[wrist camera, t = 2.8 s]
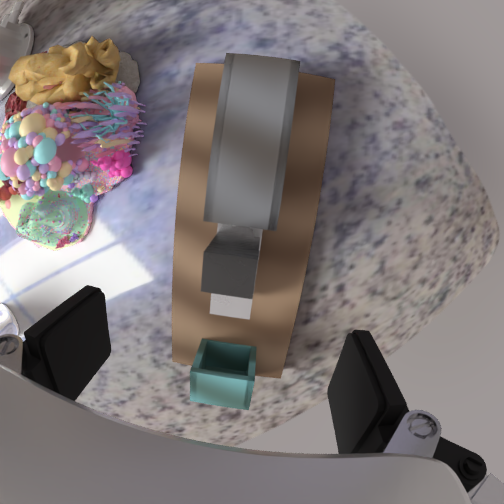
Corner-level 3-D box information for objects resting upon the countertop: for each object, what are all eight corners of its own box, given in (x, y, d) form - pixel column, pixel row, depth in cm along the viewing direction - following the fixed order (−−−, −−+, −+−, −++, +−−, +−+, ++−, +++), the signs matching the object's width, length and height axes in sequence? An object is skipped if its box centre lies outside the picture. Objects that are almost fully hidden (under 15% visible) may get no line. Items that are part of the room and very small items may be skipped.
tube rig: (199, 68, 22) (179, 39, 15) (331, 84, 21) (351, 58, 15) (176, 353, 30) (158, 393, 24) (280, 369, 30) (282, 413, 24)
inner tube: (243, 77, 20) (231, 34, 12) (282, 82, 20) (290, 40, 12) (216, 296, 25) (196, 350, 17) (251, 301, 25) (245, 357, 17)
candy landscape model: (25, 55, 20) (-20, 42, 12) (175, 38, 21) (139, -6, 12) (-2, 229, 28) (-47, 247, 19) (126, 273, 28) (80, 313, 19)
